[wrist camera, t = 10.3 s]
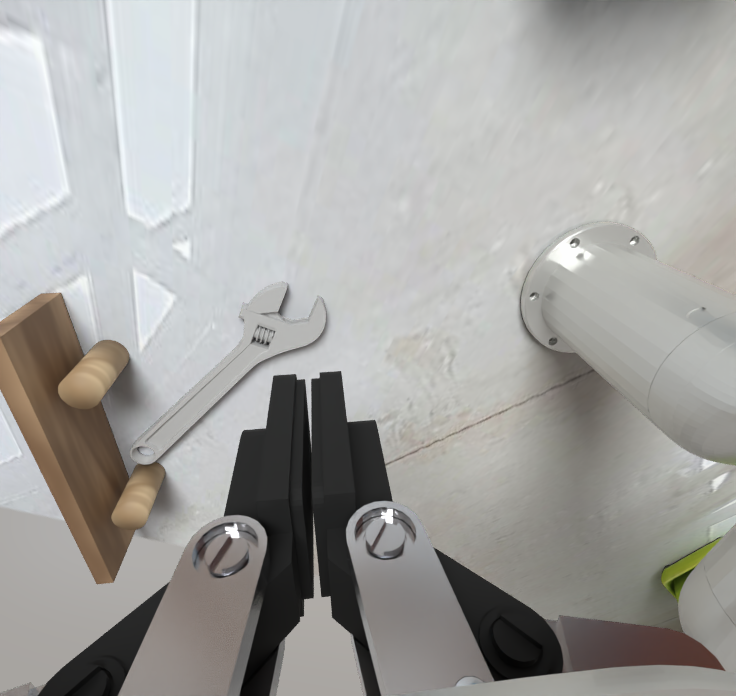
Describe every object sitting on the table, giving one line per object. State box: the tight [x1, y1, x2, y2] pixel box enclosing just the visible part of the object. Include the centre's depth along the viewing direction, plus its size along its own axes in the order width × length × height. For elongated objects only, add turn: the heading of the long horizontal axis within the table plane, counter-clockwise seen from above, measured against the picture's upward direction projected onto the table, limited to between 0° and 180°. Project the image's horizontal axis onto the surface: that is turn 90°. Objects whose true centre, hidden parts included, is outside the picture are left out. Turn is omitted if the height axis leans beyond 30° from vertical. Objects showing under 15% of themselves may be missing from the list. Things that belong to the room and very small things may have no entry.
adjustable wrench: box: [129, 281, 326, 465], centre depth 40 cm, size 25×6×2 cm, turn 128°
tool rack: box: [0, 293, 165, 584], centre depth 38 cm, size 5×26×8 cm, turn 0°
